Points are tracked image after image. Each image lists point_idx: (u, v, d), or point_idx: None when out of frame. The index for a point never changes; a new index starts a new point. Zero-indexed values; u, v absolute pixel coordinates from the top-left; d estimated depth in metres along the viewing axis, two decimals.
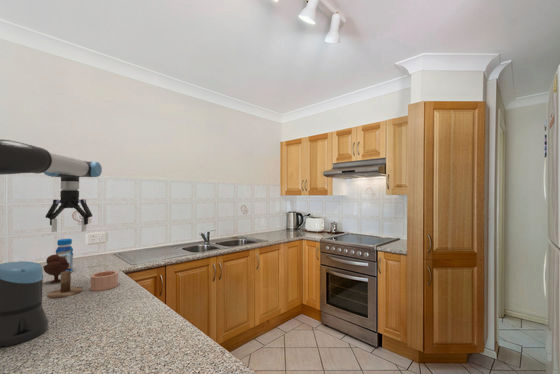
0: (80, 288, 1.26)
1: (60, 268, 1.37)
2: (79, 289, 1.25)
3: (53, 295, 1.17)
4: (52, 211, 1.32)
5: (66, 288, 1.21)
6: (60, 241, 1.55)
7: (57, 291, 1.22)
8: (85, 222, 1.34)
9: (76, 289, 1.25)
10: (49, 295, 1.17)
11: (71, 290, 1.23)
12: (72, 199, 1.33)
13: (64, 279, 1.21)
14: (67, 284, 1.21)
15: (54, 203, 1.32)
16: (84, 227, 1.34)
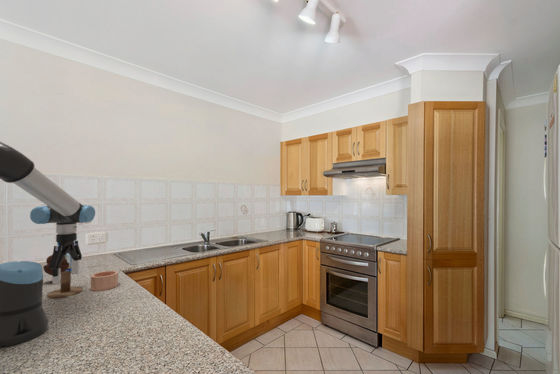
0: (80, 288, 1.26)
1: None
2: (79, 289, 1.25)
3: (53, 295, 1.17)
4: None
5: (66, 288, 1.21)
6: None
7: (57, 291, 1.22)
8: None
9: (76, 289, 1.25)
10: (49, 295, 1.17)
11: (71, 290, 1.23)
12: None
13: (64, 279, 1.21)
14: (67, 284, 1.21)
15: None
16: (55, 279, 1.16)
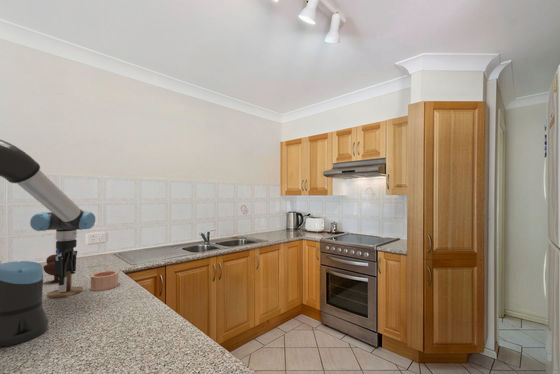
0: (80, 288, 1.26)
1: None
2: (79, 289, 1.25)
3: (53, 295, 1.17)
4: None
5: (66, 288, 1.21)
6: None
7: (57, 291, 1.22)
8: None
9: (76, 289, 1.25)
10: (49, 295, 1.17)
11: (71, 290, 1.23)
12: None
13: None
14: (66, 284, 1.21)
15: None
16: (61, 287, 1.20)
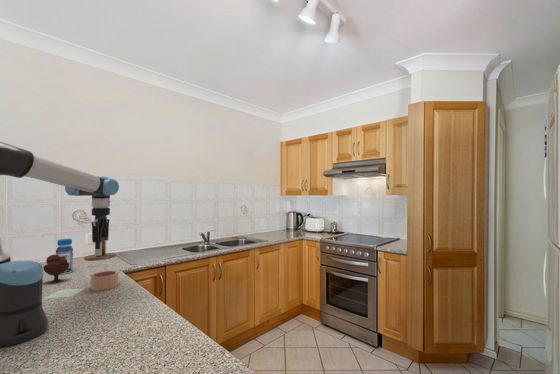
0: (113, 254, 1.34)
1: (60, 268, 1.37)
2: (113, 254, 1.33)
3: (90, 258, 1.25)
4: None
5: None
6: (60, 241, 1.55)
7: (92, 255, 1.30)
8: None
9: (110, 254, 1.33)
10: (86, 258, 1.25)
11: (105, 255, 1.31)
12: None
13: None
14: (102, 248, 1.29)
15: None
16: (97, 251, 1.28)
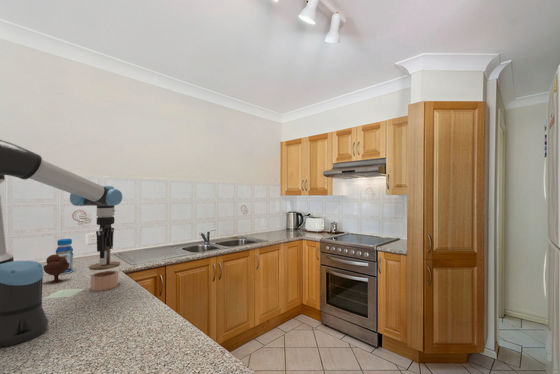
0: (118, 262, 1.35)
1: (60, 268, 1.37)
2: (117, 263, 1.33)
3: (95, 267, 1.26)
4: None
5: (106, 261, 1.30)
6: (60, 241, 1.55)
7: (97, 264, 1.31)
8: None
9: (114, 263, 1.33)
10: (91, 267, 1.26)
11: (110, 264, 1.32)
12: None
13: None
14: (106, 257, 1.30)
15: None
16: (102, 260, 1.28)
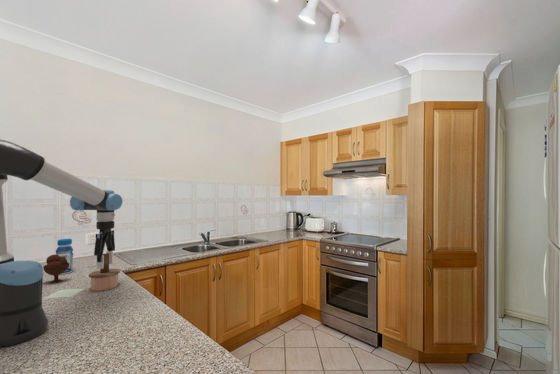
0: (117, 270, 1.34)
1: (60, 268, 1.37)
2: (117, 270, 1.33)
3: (95, 275, 1.26)
4: None
5: (105, 269, 1.30)
6: (60, 241, 1.55)
7: (97, 272, 1.31)
8: None
9: (114, 270, 1.33)
10: (91, 275, 1.26)
11: (110, 271, 1.32)
12: None
13: None
14: (106, 265, 1.30)
15: None
16: (99, 265, 1.26)
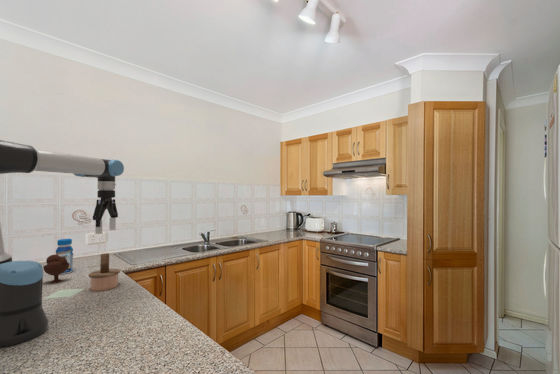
0: (117, 270, 1.34)
1: (60, 268, 1.37)
2: (117, 270, 1.33)
3: (95, 275, 1.26)
4: None
5: (105, 269, 1.30)
6: (60, 241, 1.55)
7: (97, 272, 1.31)
8: None
9: (114, 270, 1.33)
10: (91, 275, 1.26)
11: (110, 271, 1.32)
12: None
13: (103, 260, 1.29)
14: (106, 265, 1.30)
15: None
16: (98, 229, 1.25)
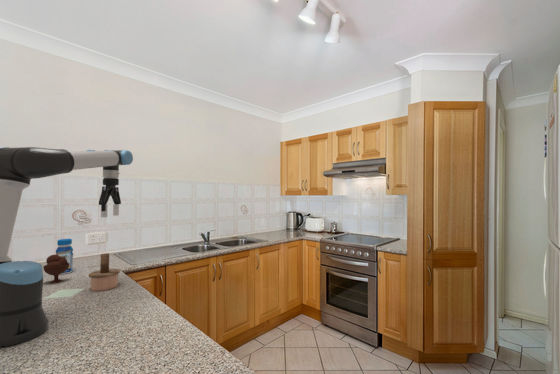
0: (117, 270, 1.34)
1: (60, 268, 1.37)
2: (117, 270, 1.33)
3: (95, 275, 1.26)
4: None
5: (105, 269, 1.30)
6: (60, 241, 1.55)
7: (97, 272, 1.31)
8: None
9: (114, 270, 1.33)
10: (91, 275, 1.26)
11: (110, 271, 1.32)
12: None
13: (103, 260, 1.29)
14: (106, 265, 1.30)
15: None
16: (103, 213, 1.38)
